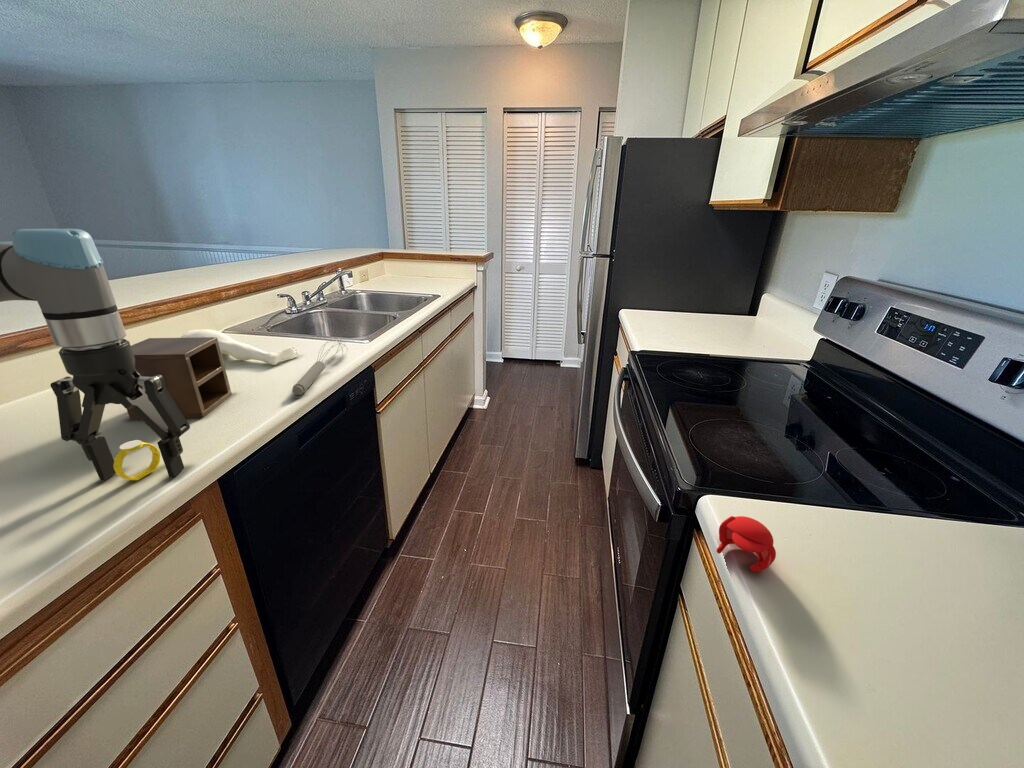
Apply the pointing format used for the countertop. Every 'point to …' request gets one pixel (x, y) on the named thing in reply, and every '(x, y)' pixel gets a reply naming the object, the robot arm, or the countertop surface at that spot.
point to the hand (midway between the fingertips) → (143, 474)
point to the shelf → (185, 372)
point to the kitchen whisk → (313, 373)
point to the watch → (132, 447)
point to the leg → (243, 348)
